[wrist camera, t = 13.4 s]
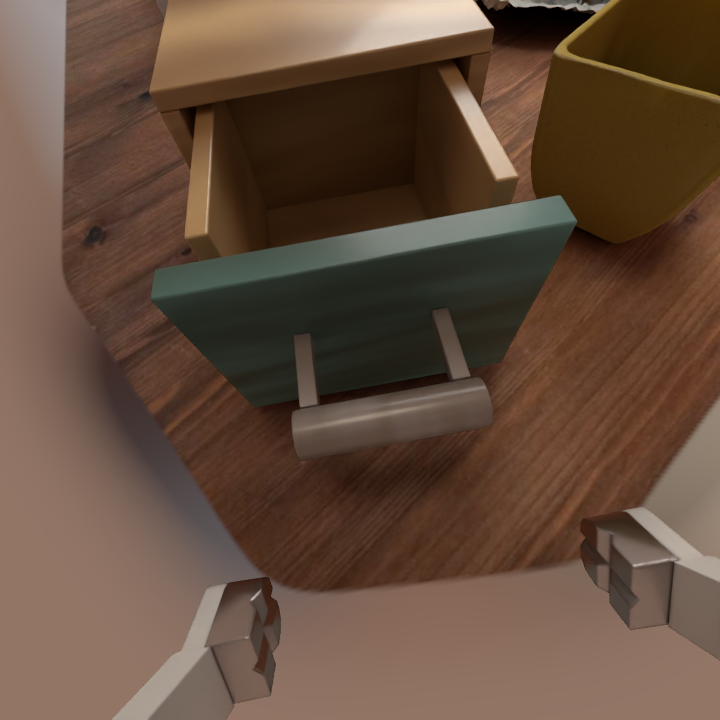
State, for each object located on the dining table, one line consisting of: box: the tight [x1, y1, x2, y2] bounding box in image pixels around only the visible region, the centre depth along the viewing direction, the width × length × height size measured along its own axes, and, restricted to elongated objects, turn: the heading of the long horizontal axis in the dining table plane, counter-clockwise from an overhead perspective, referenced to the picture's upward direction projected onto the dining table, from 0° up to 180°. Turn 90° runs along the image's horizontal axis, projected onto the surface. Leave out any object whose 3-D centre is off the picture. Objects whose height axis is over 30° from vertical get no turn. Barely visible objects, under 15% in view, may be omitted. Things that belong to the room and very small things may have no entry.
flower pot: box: [531, 0, 720, 243], centre depth 20 cm, size 9×9×9 cm
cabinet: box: [149, 0, 494, 170], centre depth 22 cm, size 15×14×11 cm
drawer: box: [151, 59, 577, 461], centre depth 17 cm, size 18×12×9 cm
